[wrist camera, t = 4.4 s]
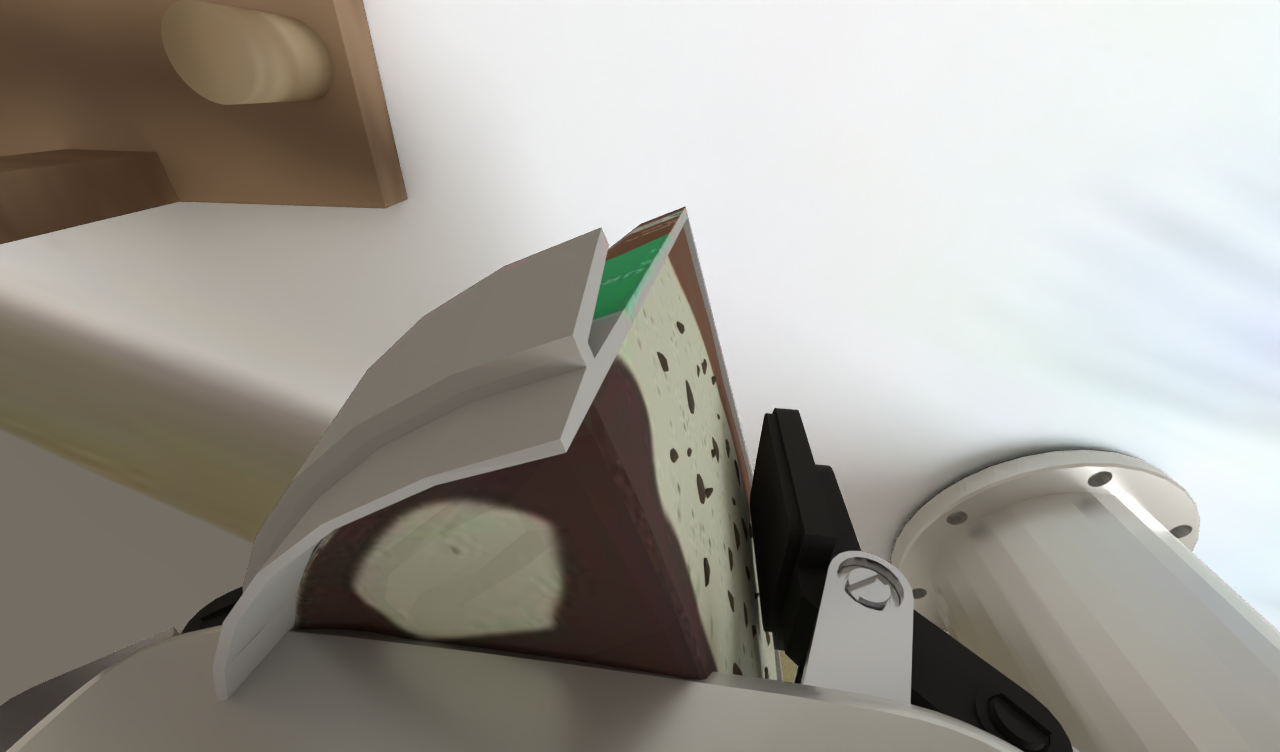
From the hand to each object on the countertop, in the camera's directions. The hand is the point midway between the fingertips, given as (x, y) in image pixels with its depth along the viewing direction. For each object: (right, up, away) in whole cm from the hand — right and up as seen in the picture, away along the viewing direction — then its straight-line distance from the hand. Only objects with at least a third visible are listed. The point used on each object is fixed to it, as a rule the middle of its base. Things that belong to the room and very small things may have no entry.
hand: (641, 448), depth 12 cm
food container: (0, +1, +2) cm, 3 cm away
